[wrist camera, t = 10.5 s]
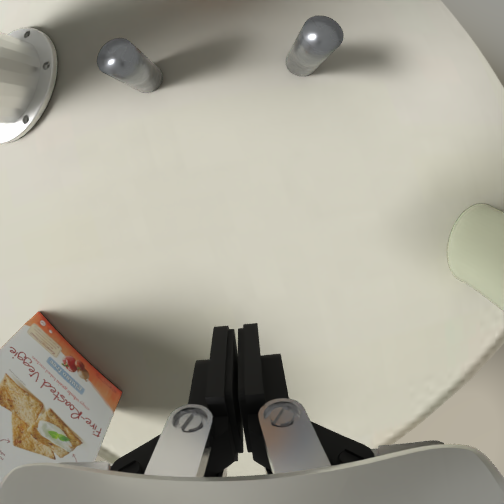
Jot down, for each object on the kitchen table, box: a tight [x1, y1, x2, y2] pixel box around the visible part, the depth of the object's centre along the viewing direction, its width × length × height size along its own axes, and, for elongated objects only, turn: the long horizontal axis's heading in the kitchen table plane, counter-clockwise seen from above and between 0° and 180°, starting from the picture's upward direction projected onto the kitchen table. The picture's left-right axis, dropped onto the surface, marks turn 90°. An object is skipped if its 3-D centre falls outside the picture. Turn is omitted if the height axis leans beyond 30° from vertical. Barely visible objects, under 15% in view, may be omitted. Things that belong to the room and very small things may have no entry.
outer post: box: [286, 16, 343, 76], centre depth 20 cm, size 3×3×8 cm
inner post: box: [97, 38, 163, 93], centre depth 20 cm, size 3×3×8 cm
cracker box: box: [0, 312, 122, 483], centre depth 22 cm, size 14×6×21 cm, turn 39°
